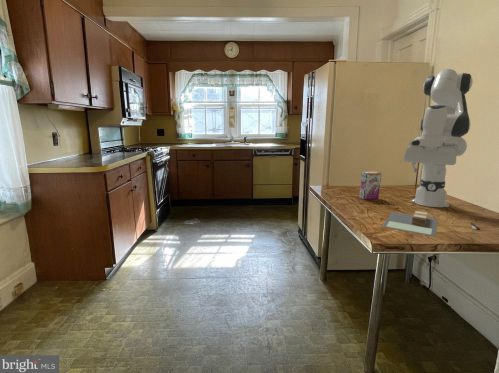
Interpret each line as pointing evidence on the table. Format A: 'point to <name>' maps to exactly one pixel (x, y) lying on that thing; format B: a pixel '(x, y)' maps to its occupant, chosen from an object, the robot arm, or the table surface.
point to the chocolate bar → (474, 227)
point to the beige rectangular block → (419, 218)
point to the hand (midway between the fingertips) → (427, 173)
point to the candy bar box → (370, 185)
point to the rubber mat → (410, 224)
